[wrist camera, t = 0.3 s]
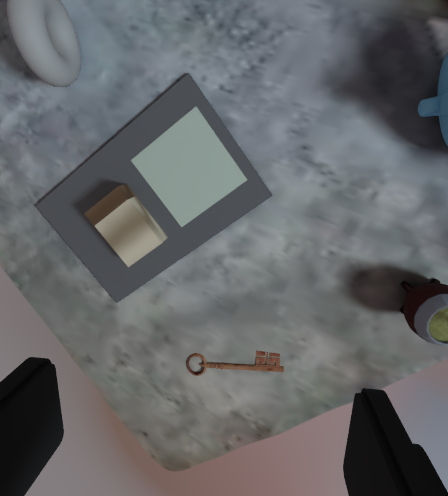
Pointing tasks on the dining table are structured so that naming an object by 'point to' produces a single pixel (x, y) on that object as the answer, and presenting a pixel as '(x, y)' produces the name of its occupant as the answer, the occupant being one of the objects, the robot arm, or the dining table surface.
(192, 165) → the mat
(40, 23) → the donut
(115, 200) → the wooden block
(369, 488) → the robot arm
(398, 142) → the dining table surface
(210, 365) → the key
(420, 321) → the mate gourd
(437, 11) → the dining table surface
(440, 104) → the decorative pot
